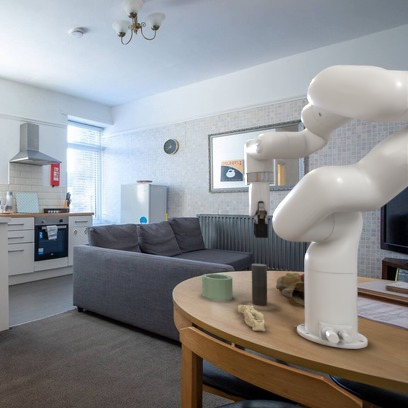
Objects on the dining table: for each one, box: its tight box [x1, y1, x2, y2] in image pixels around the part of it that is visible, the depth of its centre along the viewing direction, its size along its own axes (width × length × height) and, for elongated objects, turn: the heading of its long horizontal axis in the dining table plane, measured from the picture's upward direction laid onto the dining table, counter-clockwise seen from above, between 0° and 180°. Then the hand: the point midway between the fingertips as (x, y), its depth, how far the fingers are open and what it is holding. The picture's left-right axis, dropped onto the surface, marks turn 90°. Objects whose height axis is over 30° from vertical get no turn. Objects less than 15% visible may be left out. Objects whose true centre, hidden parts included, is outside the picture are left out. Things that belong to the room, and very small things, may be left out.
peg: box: [251, 263, 268, 307], centre depth 99 cm, size 4×4×12 cm
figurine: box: [275, 272, 305, 308], centre depth 103 cm, size 15×9×20 cm
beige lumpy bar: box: [237, 304, 266, 332], centre depth 87 cm, size 17×4×3 cm, turn 169°
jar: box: [201, 273, 234, 301], centre depth 108 cm, size 9×9×7 cm
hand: (260, 236), depth 99 cm, fingers open, 9 cm apart
